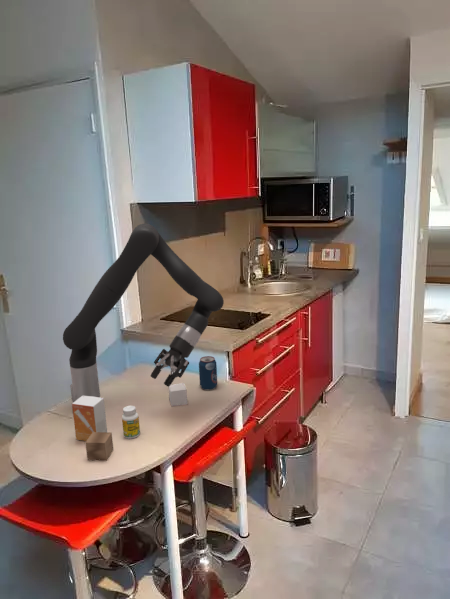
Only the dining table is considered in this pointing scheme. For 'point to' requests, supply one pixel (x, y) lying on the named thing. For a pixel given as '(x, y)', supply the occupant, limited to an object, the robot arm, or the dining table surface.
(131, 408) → the supplement bottle
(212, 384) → the soda can
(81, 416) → the small box
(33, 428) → the dining table surface
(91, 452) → the walnut cube
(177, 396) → the white cube
